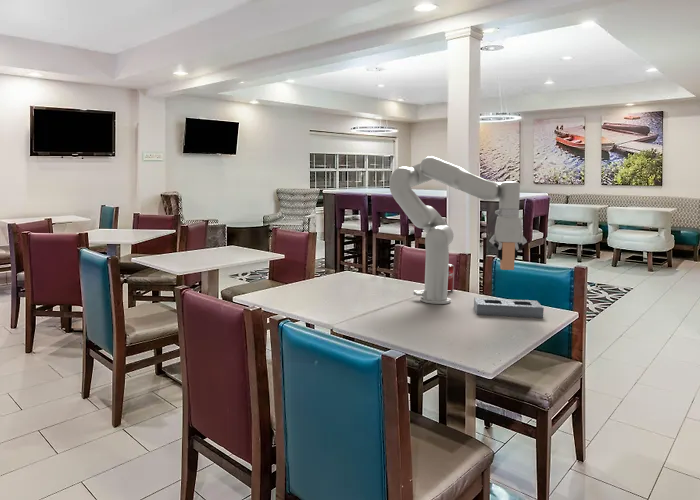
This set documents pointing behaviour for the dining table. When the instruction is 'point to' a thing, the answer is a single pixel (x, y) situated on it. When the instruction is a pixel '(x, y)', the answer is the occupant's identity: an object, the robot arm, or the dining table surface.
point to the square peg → (507, 256)
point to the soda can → (450, 277)
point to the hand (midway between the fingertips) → (507, 259)
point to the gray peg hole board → (508, 307)
